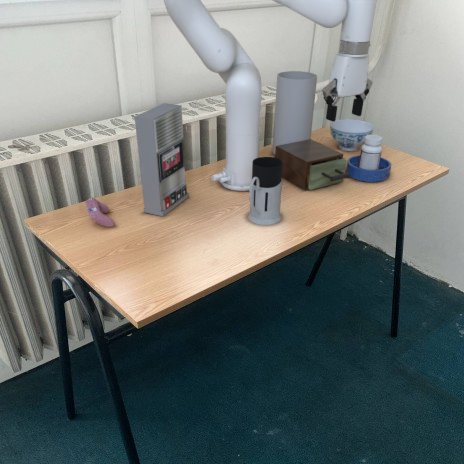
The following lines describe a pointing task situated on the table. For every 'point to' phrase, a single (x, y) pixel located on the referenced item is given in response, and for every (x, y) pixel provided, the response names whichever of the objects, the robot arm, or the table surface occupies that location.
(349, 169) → the bowl
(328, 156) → the cabinet
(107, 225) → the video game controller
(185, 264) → the table surface
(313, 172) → the drawer
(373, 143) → the pill bottle
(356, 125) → the chinaware
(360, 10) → the robot arm
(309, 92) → the cylinder vase
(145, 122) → the cassette tape recorder
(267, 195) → the glass holder
